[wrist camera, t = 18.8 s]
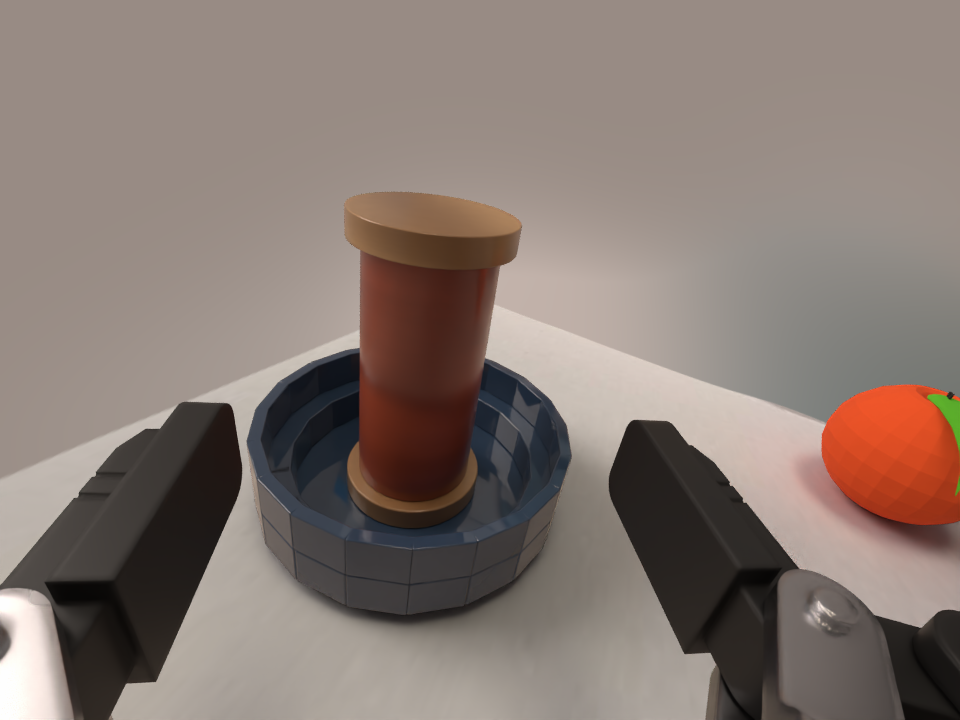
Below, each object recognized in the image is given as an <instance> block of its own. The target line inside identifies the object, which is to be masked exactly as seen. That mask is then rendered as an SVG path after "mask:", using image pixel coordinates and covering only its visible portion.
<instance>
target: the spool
mask: <svg viewBox="0 0 960 720" xmlns="http://www.w3.org/2000/svg"><path fill="white" fill-rule="evenodd" d="M344 214H345V215H344V218H345V219H344V220H345V221H344V223H345V237H346V239H347V241H348V242H349V243H350V244H351V245H353V246H354V247H356V248H358V249H360V387H359V441H358V442H357V443H356V445H355V446H354V447H353V449H352V451H351V453H350V455H349V457H348V462H347V485H348V491H349V493H350V496H351V498H352V499H353V501H354V503H355V504H356V505H357V506H358V508H359V509H360V510H361V511H363V512H364V513H365V514H366V515H368V516H369V517H371V518H372V519H374V520H376V521H379V522H381V523H384V524H387V525H390V526H394V527H400V528H423V527H429V526H434V525H437V524H440V523H443V522H445V521H447V520H449V519H451V518H452V517H454V516H456V515H457V514H458V513H459V512H461V511H462V510H463V509H464V508H465V506H466V505H467V504H468V503H469V501H470V500H471V498H472V496H473V493H474V489H475V485H476V479H477V474H478V465H477V460H476V457H475V454H474V453H473V451H472V449H471V448H470V447H471V441H472V435H473V429H474V423H475V417H476V411H477V404H478V398H479V392H480V386H481V380H482V374H483V368H484V362H485V355H486V349H487V343H488V337H489V331H490V325H491V319H492V312H493V306H494V300H495V294H496V288H497V281H498V275H499V269H500V266H501V265H504V264H507V263H509V262H511V261H512V260H513V259H514V258H515V257H516V255H517V250H518V245H519V239H520V234H521V228H522V225H521V222H520V221H519V220H518V219H517V218H516V217H514V216H513V215H511V214H509V213H507V212H505V211H503V210H500V209H497V208H495V207H492V206H488V205H485V204H481V203H477V202H473V201H469V200H464V199H459V198H454V197H448V196H441V195H432V194H424V193H412V192H375V193H366V194H361V195H357V196H353V197H351V198H349V199H347V201H346V202H345V204H344Z"/></svg>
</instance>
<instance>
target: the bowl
mask: <svg viewBox="0 0 960 720" xmlns="http://www.w3.org/2000/svg"><path fill="white" fill-rule="evenodd" d="M359 387H360V348H357V349H350V350H345V351H342V352H339V353H336V354H333V355H330V356H327V357H324V358H322V359H319V360H316V361H313V362H311V363H308V364H307V365H305V366H304V367H302V368H300V369H299V370H297V371H295V372H294V373H292V374H291V375H289V376H287V377H286V378H284V379H282V380H281V381H280V382H278V383H277V385H276V386H275V387H274V388H273V389H272V390H271V391H270V393H269V394H268V395H267V396H266V397H265V398H264V400H263V401H262V402H261V403H260V404H259V405H258V407H257V408H256V409H255V413H254V416H253V420H252V424H251V427H250V431H249V434H248V438H247V450H248V457H249V463H250V470H251V476H252V484H253V490H254V497H255V504H256V509H257V513H258V516H259V520H260V524H261V528H262V532H263V536H264V540H265V544H267V546H268V547H269V549H270V550H271V551H272V552H273V553H274V554H275V556H276V557H277V558H278V559H279V560H280V562H281V563H282V564H283V565H284V566H285V567H286V569H287V570H288V571H289V572H290V573H291V574H292V576H293V577H294V578H295V579H296V580H297V579H298V581H299V582H301V583H303V584H305V585H307V586H309V587H311V588H313V589H315V590H316V591H318V592H320V593H322V594H324V595H326V596H328V597H330V598H332V599H334V600H336V601H338V602H340V603H342V604H343V605H346V604H347V607H353V608H360V609H366V610H373V611H380V612H386V613H393V614H400V615H406V614H408V615H410V614H417V613H423V612H429V611H435V610H442V609H448V608H454V607H461V606H464V605H465V604H466V605H467V604H469V603H471V602H473V601H475V600H477V599H479V598H481V597H483V596H485V595H487V594H489V593H491V592H493V591H495V590H497V589H498V588H500V587H502V586H504V585H506V584H508V583H510V582H511V581H513V580H514V579H515V578H516V577H517V576H518V575H519V574H520V573H521V572H522V571H523V569H524V568H525V567H526V566H527V565H528V564H529V563H530V562H531V561H532V559H533V558H534V557H535V556H536V555H537V554H538V553H539V552H540V551H541V549H542V548H543V546H544V543H545V540H546V537H547V534H548V531H549V528H550V525H551V522H552V519H553V516H554V513H555V510H556V507H557V504H558V500H559V497H560V494H561V491H562V487H563V484H564V481H565V478H566V475H567V471H568V468H569V465H570V462H571V457H572V455H571V449H570V443H569V436H568V430H567V426H566V423H565V422H564V420H563V419H562V417H561V416H560V414H559V412H558V411H557V409H556V408H555V406H554V405H553V403H552V401H551V400H550V399H549V398H548V397H547V396H546V395H545V394H543V393H542V392H541V391H540V390H539V389H538V388H536V387H535V386H534V385H533V384H532V383H531V382H529V381H528V380H527V379H526V378H524V377H523V376H521V375H519V374H517V373H515V372H513V371H512V370H510V369H508V368H506V367H504V366H502V365H500V364H498V363H496V362H493V361H492V360H489V359H486V358H485V362H484V368H483V374H482V380H481V386H480V392H479V398H478V404H477V411H476V417H475V423H474V429H473V435H472V441H471V447H470V448H471V449H472V451H473V453H474V454H475V457H476V460H477V465H478V474H477V479H476V485H475V489H474V493H473V496H472V498H471V500H470V501H469V503H468V504H467V505H466V506H465V508H464V509H463V510H462V511H461V512H459V513H458V514H457V515H456V516H454V517H452V518H451V519H449V520H447V521H445V522H443V523H440V524H437V525H434V526H429V527H423V528H400V527H394V526H390V525H387V524H384V523H381V522H379V521H376V520H374V519H372V518H371V517H369V516H368V515H366V514H365V513H364V512H363V511H361V510H360V509H359V508H358V506H357V505H356V504H355V503H354V501H353V499H352V498H351V496H350V493H349V491H348V485H347V462H348V457H349V455H350V453H351V451H352V449H353V447H354V446H355V445H356V443H357V442H358V441H359Z"/></svg>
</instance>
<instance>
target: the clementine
mask: <svg viewBox="0 0 960 720" xmlns="http://www.w3.org/2000/svg"><path fill="white" fill-rule="evenodd" d="M822 457H823V460H824V463H825V466H826V469H827V471H828V473H829V475H830V476H831V478H832V479H833V480H834V482H835V483H836V484H837V485H838V487H839V488H840V489H841V490H842V491H843V492H844V493H845V495H847V496H848V497H849V498H850V499H851V500H853V501H854V502H855V503H857V504H858V505H860V506H861V507H863V508H865V509H867V510H869V511H870V512H872V513H875V514H877V515H879V516H882V517H885V518H888V519H891V520H895V521H900V522H904V523H908V524H916V525H937V524H948V523H954V522H957V521H960V398H958V397H956V396H954V394H953V393H952V392H949V393H947V392H944V391H941V390H937V389H935V388H930V387H927V386H921V385H895V386H882V387H879V388H875V389H872V390H869V391H865V392H862V393H859V394H857V395H855V396H854V397H852V398H850V399H849V400H847V401H845V402H844V403H842V404H841V405H840V407H839V408H838V409H837V410H836V411H835V412H834V413H833V414H832V415H831V417H830V418H829V420H828V421H827V424H826V426H825V428H824V431H823V433H822Z"/></svg>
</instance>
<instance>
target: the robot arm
mask: <svg viewBox="0 0 960 720" xmlns="http://www.w3.org/2000/svg"><path fill="white" fill-rule="evenodd" d="M241 480H242V462H241V456H240V450H239V444H238V438H237V431H236V425H235V419H234V413H233V410H232V407H231V406H230V404H228V403H203V402H182V403H180V404H179V405H178V406H177V407H176V409H175V410H174V411H173V413H172V414H171V415H170V416H169V418H168V419H167V420H166V422H165V423H164V424H163V426H162V427H161V428H160V429H145V430H143V431H142V432H140V433H139V434H137V435H136V436H134V437H133V438H131V439H130V440H128V441H126V442H125V443H123V444H122V445H120V446H119V447H117V448H116V449H115V450H114V451H113V453H112V454H111V455H110V456H109V457H108V458H107V460H106V461H105V462H104V463H103V464H102V466H101V467H100V468H99V469H98V470H97V472H96V476H95V477H91V479H90V480H89V481H88V482H87V483H86V485H85V486H84V487H83V488H82V489H81V491H80V492H79V496H78V498H74V499H73V500H72V501H71V502H70V504H69V505H68V506H67V507H66V508H65V510H64V511H63V512H62V513H61V514H60V515H59V517H58V518H57V519H56V520H55V521H54V523H53V524H52V525H51V526H50V527H49V529H48V530H47V531H46V532H45V533H44V534H43V536H42V537H41V538H40V539H39V540H38V542H37V543H36V544H35V545H34V546H33V548H32V549H31V550H30V551H29V552H28V553H27V555H26V556H25V557H24V558H23V559H22V561H21V562H20V563H19V564H18V565H17V567H16V568H15V569H14V570H13V571H12V572H11V574H10V575H9V576H8V577H7V578H6V580H5V581H4V582H3V583H2V584H1V585H0V720H113V718H112V716H111V713H112V711H113V709H114V707H115V705H116V703H117V701H118V699H119V697H120V695H121V693H122V691H123V689H124V687H125V685H126V684H127V683H145V682H156V681H157V679H158V676H159V674H160V672H161V669H162V667H163V665H164V663H165V660H166V658H167V656H168V654H169V651H170V649H171V647H172V645H173V642H174V640H175V638H176V635H177V633H178V631H179V629H180V626H181V624H182V622H183V620H184V617H185V615H186V613H187V611H188V608H189V606H190V604H191V602H192V599H193V597H194V595H195V592H196V590H197V588H198V586H199V583H200V581H201V579H202V577H203V574H204V572H205V570H206V568H207V565H208V563H209V561H210V558H211V556H212V554H213V552H214V549H215V547H216V545H217V543H218V540H219V538H220V536H221V534H222V531H223V529H224V527H225V525H226V522H227V520H228V518H229V515H230V513H231V511H232V509H233V506H234V504H235V502H236V500H237V497H238V494H239V490H240V486H241ZM729 483H730V482H729V481H728V479H727V478H726V477H725V476H724V474H723V473H722V472H721V471H720V469H719V468H718V467H717V466H716V464H715V463H714V462H713V461H712V460H710V459H709V458H708V457H706V456H705V455H704V454H702V453H701V452H700V451H699V450H697V449H696V448H695V447H693V446H692V445H688V444H687V442H686V441H685V440H684V438H683V437H682V436H681V435H680V433H679V432H678V431H677V429H676V428H675V427H674V426H673V424H671V423H670V422H668V421H650V420H633V421H631V422H630V423H629V424H628V426H627V428H626V431H625V433H624V436H623V439H622V441H621V444H620V447H619V450H618V452H617V455H616V458H615V460H614V463H613V466H612V468H611V471H610V475H609V492H610V497H611V500H612V502H613V505H614V507H615V509H616V511H617V513H618V515H619V517H620V519H621V521H622V524H623V526H624V528H625V530H626V532H627V534H628V536H629V538H630V540H631V543H632V545H633V547H634V549H635V551H636V553H637V555H638V557H639V559H640V561H641V564H642V566H643V568H644V570H645V572H646V574H647V576H648V578H649V580H650V582H651V585H652V587H653V589H654V591H655V593H656V595H657V597H658V599H659V601H660V604H661V606H662V608H663V610H664V612H665V614H666V616H667V618H668V620H669V622H670V625H671V627H672V629H673V631H674V633H675V635H676V637H677V639H678V641H679V643H680V646H681V648H682V650H683V652H684V654H695V653H711V655H712V657H713V659H714V661H715V663H716V666H715V668H714V669H713V671H712V673H711V677H710V684H709V693H708V702H707V710H706V719H705V720H960V611H955V610H942V611H940V612H938V613H937V614H936V615H935V616H934V617H932V618H931V619H930V620H929V621H928V622H927V623H926V624H925V625H924V626H923V627H922V628H919V627H915V626H911V625H908V624H904V623H901V622H897V621H893V620H890V619H886V618H883V617H879V616H875V615H873V613H872V612H871V611H870V610H869V609H868V607H867V606H866V605H865V604H864V603H863V602H862V601H861V600H860V599H858V598H857V597H856V596H855V595H854V594H853V593H851V592H850V591H849V590H847V589H846V588H845V587H843V586H842V585H840V584H838V583H837V582H835V581H833V580H832V579H830V578H828V577H826V576H823V575H821V574H818V573H816V572H812V571H808V570H803V569H799V568H798V567H797V566H796V564H795V563H794V562H793V561H792V559H791V558H790V557H789V556H788V554H787V553H786V552H785V551H784V549H783V548H782V547H781V546H780V544H779V543H778V542H777V541H776V539H775V538H774V537H773V536H772V534H771V533H770V532H769V531H768V529H767V528H766V527H765V526H764V524H763V523H762V522H761V521H760V519H759V518H758V517H757V516H756V514H755V513H754V512H753V511H752V509H751V508H750V507H749V506H748V504H747V503H743V498H742V497H741V496H740V494H739V493H738V492H737V491H736V489H735V488H734V487H733V486H730V484H729Z"/></svg>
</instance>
